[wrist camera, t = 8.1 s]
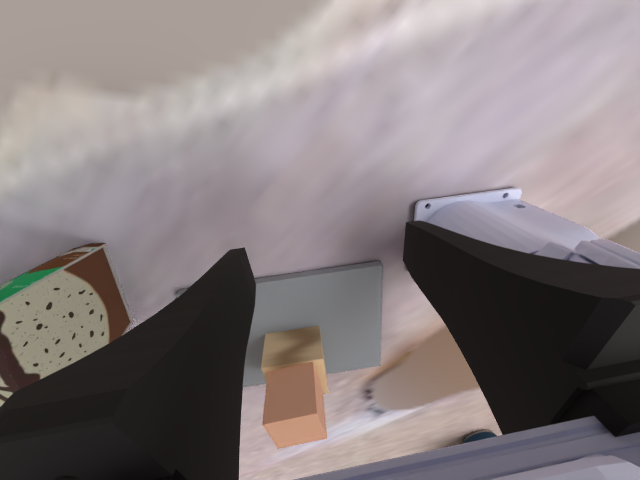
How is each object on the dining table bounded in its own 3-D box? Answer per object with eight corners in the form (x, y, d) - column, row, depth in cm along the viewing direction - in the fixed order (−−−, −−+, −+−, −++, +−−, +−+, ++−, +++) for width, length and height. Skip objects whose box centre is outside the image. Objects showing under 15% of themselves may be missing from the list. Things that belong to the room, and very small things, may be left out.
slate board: (380, 260, 24) (382, 265, 23) (378, 360, 32) (380, 365, 31) (179, 289, 24) (175, 295, 23) (227, 383, 31) (226, 389, 31)
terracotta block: (313, 361, 23) (316, 413, 19) (322, 387, 25) (327, 438, 22) (267, 371, 23) (262, 424, 19) (280, 396, 26) (278, 448, 22)
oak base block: (319, 325, 27) (323, 358, 23) (324, 359, 30) (328, 393, 26) (265, 333, 26) (260, 368, 23) (276, 366, 29) (273, 401, 26)
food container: (13, 223, 19) (-224, 320, 10) (99, 227, 20) (-53, 320, 11) (72, 331, 25) (-48, 452, 16) (137, 331, 26) (56, 446, 17)
